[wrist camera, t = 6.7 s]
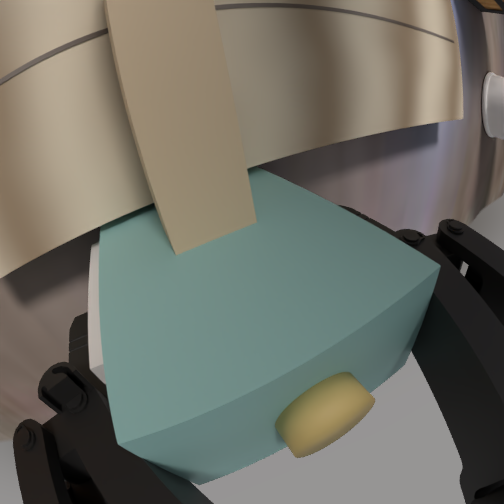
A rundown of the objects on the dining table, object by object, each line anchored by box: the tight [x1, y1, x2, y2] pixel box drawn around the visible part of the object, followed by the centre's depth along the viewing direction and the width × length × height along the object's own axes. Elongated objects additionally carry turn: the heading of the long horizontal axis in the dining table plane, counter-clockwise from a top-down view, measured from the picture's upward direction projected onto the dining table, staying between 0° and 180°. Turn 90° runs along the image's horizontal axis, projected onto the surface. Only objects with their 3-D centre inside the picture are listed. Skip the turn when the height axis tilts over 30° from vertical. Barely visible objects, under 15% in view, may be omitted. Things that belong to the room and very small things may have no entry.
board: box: [0, 0, 463, 278], centre depth 9 cm, size 32×12×2 cm, turn 103°
